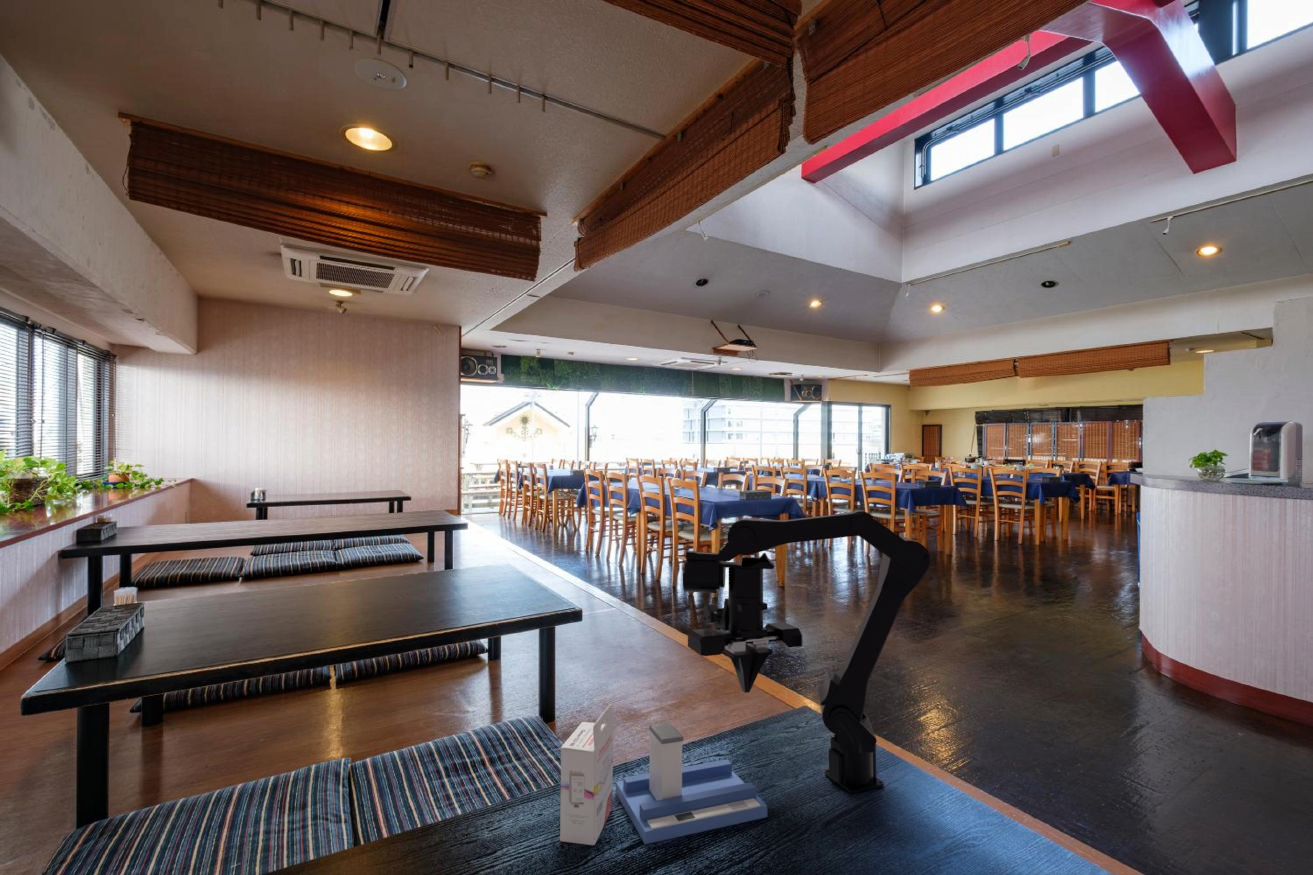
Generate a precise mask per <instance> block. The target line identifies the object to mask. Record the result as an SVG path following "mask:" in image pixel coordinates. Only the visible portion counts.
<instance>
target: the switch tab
mask: <svg viewBox="0 0 1313 875" xmlns="http://www.w3.org/2000/svg"><path fill="white" fill-rule="evenodd" d="M648 729H649V762H648V763H649V767H648V768H649V772H648V773H649V790H650V791H651V793H652V794H653V796H654V797H655V799H656V800H657V801H658V800H663V799H668V798H673V797H678V796H682V767H683V741H684V735H682V733H681V732H679V730H678V729H677V728H676V727H675V726H674V725H673V724H672V723H671V722H670V721H667V722H659V723H653V724H652V723H651V724H648Z"/></svg>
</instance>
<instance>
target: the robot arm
mask: <svg viewBox="0 0 1313 875" xmlns="http://www.w3.org/2000/svg"><path fill="white" fill-rule="evenodd" d="M855 536H856V537H860V538H861V539H862V540H864V541H865V542H867V543H868V544H869V545H870V546H872V547H873V548H874V549H875V550H877V551H878V552H880V553H881V554H882V556H881V560H880V565H879V573H878V574H879V575H878V580H877V581H878V582H877V586H876V588H875V592H874V594H873V596H872V598H871V600H870V603H869V605H868V608H867V610H866V612H865V615H864V617H863V619H862V622H861V623H860V625H859V628H858V630H857V633H856V635H855V637H854V639H853V642H852V644H851V646H850V648H849V651H848V654H847V656H846V657H845V659H844V662H843V664H842V666H841V667H840V668H838V669H837V671H836V672H833V671H832V670H831V669H829V668H827V669H826V672H825V676H824V679H823V682H822V684H821V685H820V686H819V687H818V688H817V692H818V693H817V694H818V700H819V707H820V714H821V719H822V721H823V723H824V726H825V727H826V729H827V730H828V731H830V732H831V734H833V735H834V736H831V737H830V748H828V769H827V768H826V769H825V770H824V775H826V776H827V777H828V778H829V779H831V780H832V781H833V782H835V783H836V784H838V786H840V787H841V788H842V789H844V790H846V791H847V793H850V794H856V793H860V792H864V791H865V792H866V791H869V790H873V789H879V788H883V787H885V782H884V781H883V780H881V779H880V778H879V777H877V738H876V734H875V733H874V730H873V727H872V724H871V722H870V719H869V716H867V715H866V713H865V712H864V711H865V706H866V700H867V691H868V684H869V681H870V678H871V676H872V674H873V671H874V668H875V666H876V665H877V662H878V659H879V657H880V655H881V653H882V651H883V649H884V645H885V644H886V643H887V642H886V641H887V640H888V637H889V635H890V633H891V631H892V628H893V626H894V624H895V622H896V619H897V617H898V614H899V612H900V610H901V608H902V605H903V603H904V601H905V600H906V598H907V597H909V595H910V594H911V593H912V592H913V591H914V590H915V589H916V588H917V587H918V586H919V584H921V582H922V580H923V578H924V577H925V576H926V574H927V573H928V571H929V570H930V567H931V565H932V564H931V563H932V557H931V555H930V553H929V550H928V549H927V548H926V547H925V545H924V544H922V543H920V542H918V541H916V540H914V539H911V538H908V537H906V536H905V537H904V536H903V537H902V536H900V535H898V534H897V533H895V532H894V531H893V530H891V529H889V528H888V527H887V526H885V525H884V524H883V523H881V522H880V521H878V520H876V519H875V518H874V516H873V515H872V514H871V513H869V512H866V511H864V510H860V509H859V510H853V511H851V512H845V513H836V514H828V515H820V516H808V517H802V518H794V519H786V520H784V519H783V520H779V519H768V518H754V517H753V518H752V517H744V518H740V519H738V520H736V521H735V522H734V523H733V524H732V525H731V526H730V527H729V529H728V532H727V542H726V544H724V545H723V546H721V547H720V548H719V549H718V552H699V551H696V550H688V551H687V552H686V553H685V561H684V562H685V563H684V569H683V572H682V587H683V591H684V592H686V593H701V594H702V593H705V594H718V593H719V590H720V589H721V588H723V589H724V588H726V587H725V586H726V568H728V598H724V601H723V607H720V608H718V605H717V604H716V603H713V604H711V603H710V604H705V605H703V613H702V614H703V621H704V624H705V625H713V628H711V627H710V628H698V629H691V630H690V632H689V634H688V636H687V647H688V648H689V649H690V650H692V651H694V652H695V653H697V655H700V656H702V657H709V656H710V657H711V656H712V657H713V656H720V655H722V654H723V653H725V654H726V655H728V657H729V658H730V660H731V663H732V664H733V665H732V666H733V668H734V670H735V673H736V676H737V680H738V682H739V685H740V688H741V691H742V692H743V693H745V694H747V693H750V692H751V690H752V688H753V686H754V683H755V681H756V680H757V677H758V675H759V673H760V671H761V669H762V667H763V666H764V664H765V662H766V661H767V659H768V657H769V656H772V655H773V654H774V650H772V649H771V648H769V642H782V644H783V645H785V647H786V648H798V647H803V643H804V640H803V639H804V638H803V635H804V634H803V633H802V631H801V629H800V628H799V627H797V626H794V625H791V624H790V623H787V622H785V621H784V622H783V621H782V622H770V623H766V625H765V627H764V611H768V602H764V570H774V569H775V562H773V561H772V559H770V558H769V557H768V555H767V553H766V552H764V551H767V550H770V549H773V548H776V547H779V546H783V545H785V544H794V543H802V542H803V543H804V542H812V541H821V540H830V539H831V540H833V539H839V538H840V539H841V538H848V537H855ZM761 552H763V553H762V555H760V556H759V557H754V556H753V557H752V556H751V555H753V554H757V553H761ZM740 555H741V556H742V558H741V561H733V559H735V558H736V557H738V556H740ZM719 630H721V631H724V632H726V631H727V633H719V632H718V631H719Z"/></svg>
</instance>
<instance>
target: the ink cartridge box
mask: <svg viewBox="0 0 1313 875" xmlns="http://www.w3.org/2000/svg"><path fill="white" fill-rule="evenodd" d="M613 718H614V717H613V706H612V703H609V705H608V706H607V707H606V709H604V711H603V712H602V714H600V716H599V717H598V719H597V720H596V721H595V722H588V721H581V723H580V724H579V725H578V727H576V728H575V730H574V731H573V732H572V734H570V736H569V737H568V739H567V740H566V741H565V742H563V744H562V745H561V747H560V812H559V813H560V814H559V815H560V819H559V821H560V823H559V824H560V826H559V828H560V829H559V830H560V832H559V833H560V834H559V841H560V842H564V843H573V844H579V845H580V844H581V845H587V846H595V845H596V843H597V841H598V839H599V837H600V835H601V833H602V831H603V829H604V826H605V824H606V822H607V821H608V818H609V816H610V814H611V811H612V810H613V778H614V777H613V776H614V775H613V773H614V756H613V755H614V720H613ZM604 721H605V723H604Z"/></svg>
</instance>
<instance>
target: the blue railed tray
mask: <svg viewBox="0 0 1313 875" xmlns="http://www.w3.org/2000/svg"><path fill="white" fill-rule="evenodd" d="M622 779H623V780H620V781H619V780H618V781H615V793H616V795H617V797H618V800H619V801H620V803H621V805H622V806H623V808H624V810H625V812H626V814H627V815H628V817H629V819H630V821H631V822H632V824H633V827H634V828H635V830H636V831H637V833H638V835H639V836H640V839H641V840H642V842H643V844H644V845H647V844H652V843H658V842H662V841H666V840H671V839H676V838H679V837H684V836H689V835H692V834H698V833H702V832H706V831H711V830H714V829H715V830H716V829H719V828H724V827H729V826H733V825H738V824H742V823H746V822H751V821H752V822H753V821H756V820H760V819H764V818H765V819H766V818H767V817H768V805H767V804H766V803H765V802H764V801H763V800H762V799H761V798H760V797H759V796H758V795H757V786H755V784H753V782H751V781H750V782H744V780H742V779H741V778H740V777H739V776H738V775H737V774H736V773H735V772H734V771H733V764H732V762H731V761H730V760H728V759H721V760H720V759H719V760H715V761H709V762H705V763H699V764H694V765H687V766H682V796H678V797H673V798H668V799H663V800H658V801H657V800H656V799H655V797H654V796H653V794H652V793H651V791H650V790H649V772H648V773H641V774H637V775H636V774H635V775H632V776H631V775H629V776H626V777H623V778H622Z"/></svg>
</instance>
